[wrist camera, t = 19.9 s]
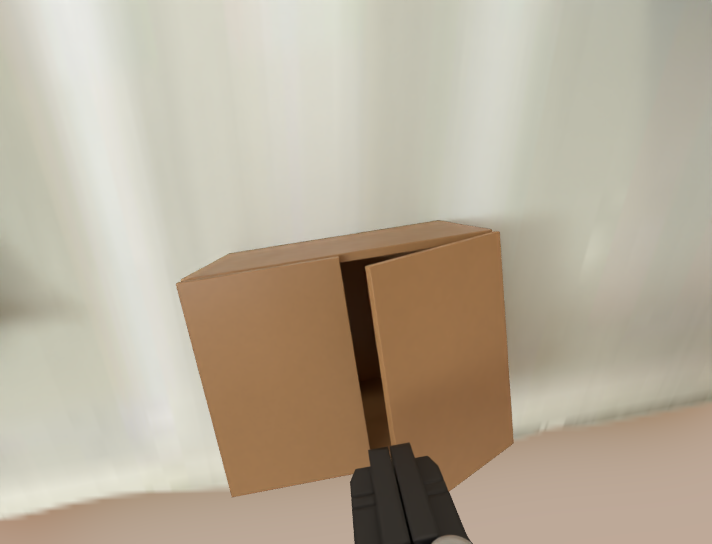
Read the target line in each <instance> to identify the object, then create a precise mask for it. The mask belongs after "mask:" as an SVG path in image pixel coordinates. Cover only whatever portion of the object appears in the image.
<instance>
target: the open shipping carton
mask: <svg viewBox="0 0 712 544" xmlns="http://www.w3.org/2000/svg"><path fill="white" fill-rule="evenodd" d="M490 232H492V229H486V228H480V227H474V226H469V225H463V224H457V223H451V222H445V221H439V220H438V221H431V222H425V223H419V224H412V225H406V226H400V227H393V228H387V229H381V230H375V231H368V232H362V233H356V234H349V235H343V236H337V237H330V238H324V239H318V240H311V241H305V242H299V243H293V244H286V245H280V246H274V247H267V248H261V249H255V250H248V251H242V252H236V253H229V254H227V255H226V256H224V257H222V258H220V259H218V260H216V261H214V262H213V263H211V264H209V265H207V266H205V267H203V268H201V269H200V270H198V271H196V272H194V273H192V274H190V275H188V276H187V277H185V278H183V279H181V282H178V283H176V286H177V290H178V294H179V298H180V302H181V305H182V309H183V313H184V317H185V321H186V324H187V328H188V332H189V336H190V340H191V343H192V347H193V351H194V355H195V359H196V362H197V366H198V370H199V374H200V378H201V381H202V385H203V389H204V393H205V397H206V400H207V404H208V408H209V412H210V416H211V419H212V423H213V427H214V431H215V435H216V439H217V442H218V446H219V450H220V454H221V458H222V461H223V465H224V469H225V473H226V477H227V480H228V484H229V488H230V492H231V495H232V497H236V496H241V495H246V494H251V493H257V492H262V491H268V490H273V489H278V488H283V487H288V486H294V485H299V484H304V483H309V482H314V481H320V480H325V479H330V478H335V477H340V476H346V475H351V474H354V471H355V469H358V468H364V467H369V466H370V461H369V454H368V450H370V449H376V448H381V447H387V446H388V449H389V453H390V448H389V446H391V439H390V433H389V426H388V419H387V412H386V406H385V399H384V392H383V385H382V378H381V372H380V365H379V358H378V352H377V348H376V342H375V336H374V330H373V324H372V318H371V312H370V306H369V300H368V294H367V287H366V281H365V275H364V271H366V270H365V266H368V265H372V264H375V263H379V262H383V261H386V260H390V259H394V258H397V257H401V256H405V255H409V254H412V253H416V252H420V251H423V250H427V249H431V248H434V247H438V246H442V245H446V244H449V243H453V242H457V241H460V240H464V239H468V238H471V237H475V236H479V235H483V234H486V233H490ZM390 457H391V455H390Z"/></svg>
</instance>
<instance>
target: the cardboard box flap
mask: <svg viewBox="0 0 712 544" xmlns="http://www.w3.org/2000/svg"><path fill="white" fill-rule="evenodd" d="M365 270H366V277H367V283H368V290H369V297H370V304H371V311H372V317H373V324H374V331H375V338H376V344H377V351H378V358H379V365H380V372H381V378H382V385H383V392H384V399H385V406H386V412H387V419H388V426H389V433H390V439H391V446H392V445H397V444H403V443H408V442H410V445H411V448H412V451H413V454H414V457H415V458H417V457H423V456H429V457H430V458H431V459H432V460H433V461H434V462H435V463H436V464H437V465H438V466H439V469H440V471H441V473H442V476H443V478H444V481H445V483H446V486H447V488H448V492H449V491H450V490H452V489H453V488H455V487H456V486H457V485H459V484H460V483H461V482H462V481H464V480H465V479H467V478H468V477H469V476H471V475H472V474H473V473H475V472H476V471H477V470H479V469H480V468H481V467H482V466H484V465H485V464H486V463H488V462H489V461H491V460H492V459H493V458H495V457H496V456H497V455H499V454H500V453H501V452H503V451H504V450H505V449H507V448H508V447H509V446H511V445H512V444H513V443H514V442H513V426H512V411H511V396H510V381H509V366H508V351H507V335H506V320H505V305H504V290H503V275H502V259H501V244H500V232H499V231H494V232H490V233H486V234H483V235H479V236H475V237H471V238H468V239H464V240H460V241H457V242H453V243H449V244H446V245H442V246H438V247H434V248H431V249H427V250H423V251H420V252H416V253H412V254H409V255H405V256H401V257H397V258H394V259H390V260H386V261H383V262H379V263H375V264H372V265H368V266H365Z"/></svg>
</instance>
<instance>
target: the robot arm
mask: <svg viewBox="0 0 712 544" xmlns="http://www.w3.org/2000/svg"><path fill="white" fill-rule="evenodd" d="M389 448H390V453H389V449H388V446H387V447H381V448H376V449H370V450H368V454H369V461H370V466H369V467H364V468H358V469H355V471H354V474H353V476H352V479H351V481H350V486H351V497H352V514H353V528H354V541H355V544H473V543H472V542H471V541H470V540H469V538H468V536H467V534H466V532H465V530H464V527H463V525H462V523H461V520H460V518H459V515H458V513H457V510H456V508H455V506H454V503H453V500H452V498H451V496H450V493H449V492H448V488H447V486H446V483H445V481H444V478H443V476H442V473H441V471H440V469H439V466H438V465H437V464H436V463H435V462H434V461H433V460H432V459H431V458H430V457H429V456H423V457H417V458H415V457H414V454H413V451H412V448H411V445H410V442H408V443H403V444H397V445H392V446H389ZM390 455H391V457H390Z"/></svg>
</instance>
